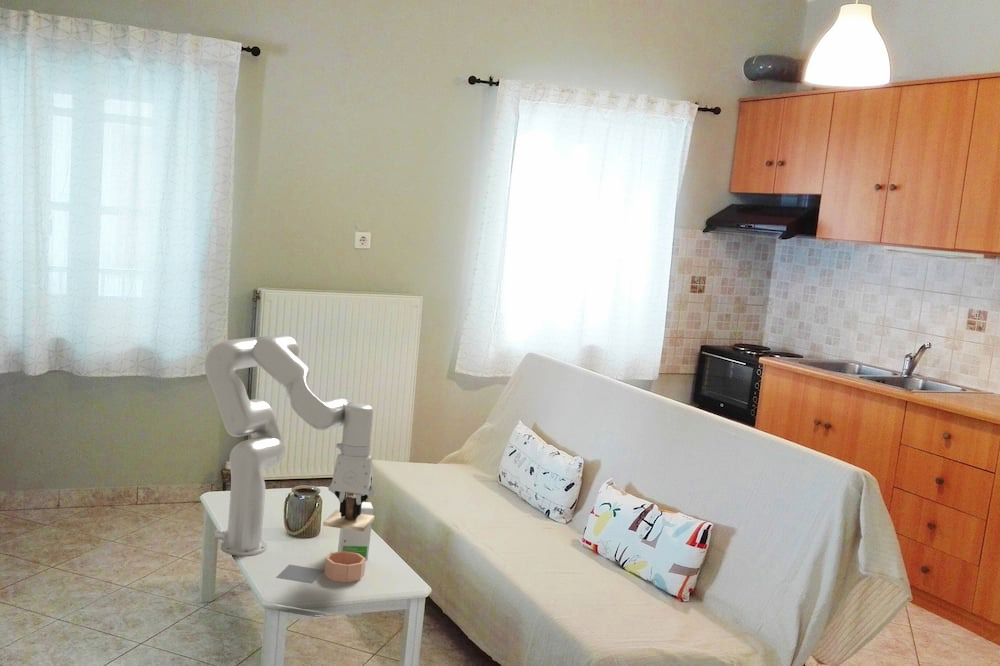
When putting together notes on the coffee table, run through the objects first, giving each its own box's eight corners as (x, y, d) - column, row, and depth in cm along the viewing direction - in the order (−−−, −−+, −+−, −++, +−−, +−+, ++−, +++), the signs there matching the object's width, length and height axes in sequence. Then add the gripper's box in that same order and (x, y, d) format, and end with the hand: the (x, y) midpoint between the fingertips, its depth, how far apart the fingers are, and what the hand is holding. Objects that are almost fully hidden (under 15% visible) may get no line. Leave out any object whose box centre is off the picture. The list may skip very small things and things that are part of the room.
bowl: (320, 579, 255) (322, 561, 255) (332, 566, 265) (333, 549, 265) (356, 585, 254) (358, 567, 254) (367, 572, 264) (368, 554, 263)
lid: (323, 525, 253) (325, 499, 252) (335, 513, 264) (337, 489, 263) (363, 531, 252) (365, 505, 251) (374, 519, 262) (376, 494, 262)
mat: (275, 578, 253) (275, 577, 253) (289, 565, 263) (289, 564, 263) (312, 584, 252) (312, 583, 251) (324, 571, 261) (324, 569, 261)
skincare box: (339, 560, 270) (344, 507, 269) (337, 552, 277) (341, 500, 275) (369, 560, 273) (373, 508, 271) (366, 552, 279) (370, 500, 277)
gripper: (321, 449, 253) (316, 516, 255) (381, 457, 251) (375, 525, 253) (330, 442, 260) (325, 508, 262) (388, 450, 258) (382, 516, 260)
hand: (349, 515), depth 258 cm, fingers closed on lid, 2 cm apart
